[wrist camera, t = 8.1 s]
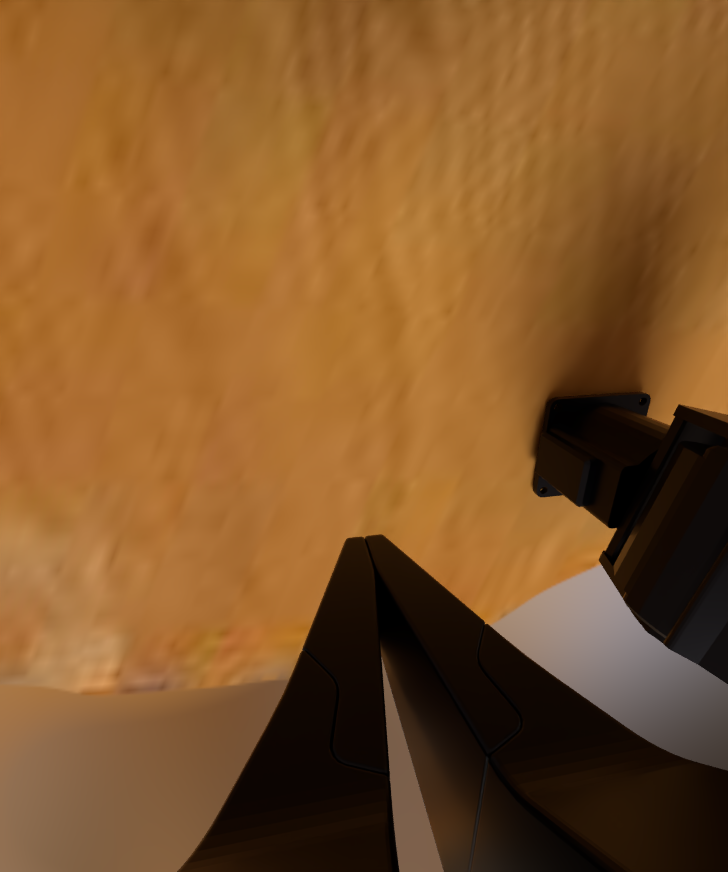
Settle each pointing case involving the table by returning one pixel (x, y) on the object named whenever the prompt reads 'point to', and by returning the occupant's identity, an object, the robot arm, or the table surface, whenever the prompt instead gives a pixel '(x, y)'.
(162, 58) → the table surface
